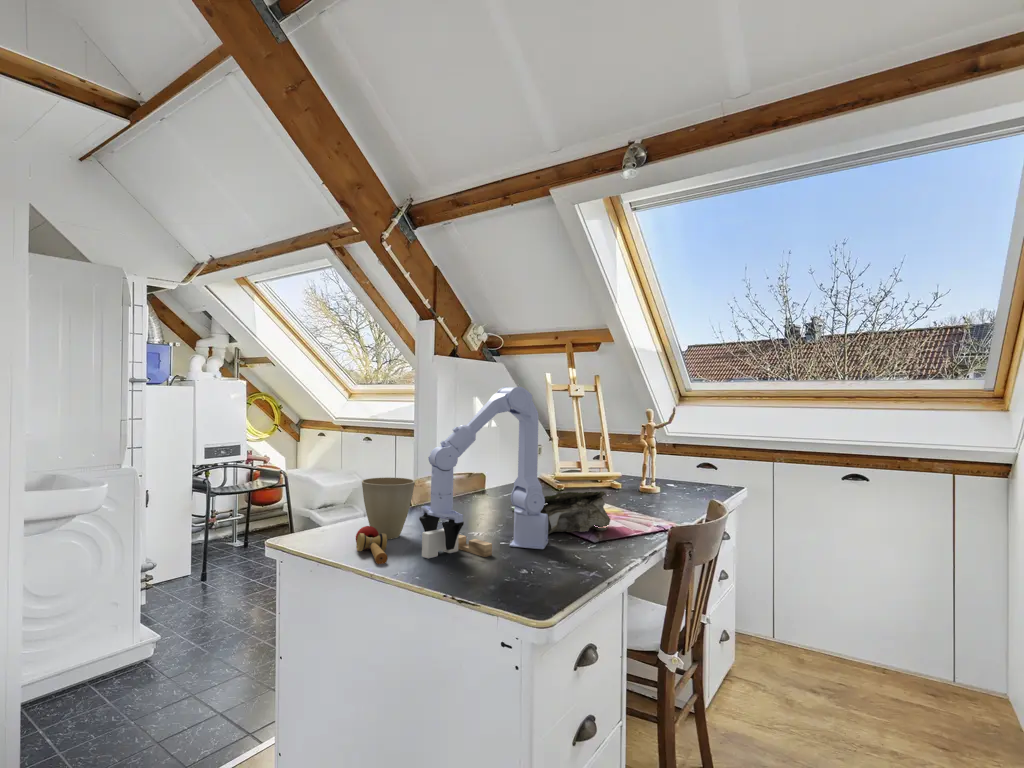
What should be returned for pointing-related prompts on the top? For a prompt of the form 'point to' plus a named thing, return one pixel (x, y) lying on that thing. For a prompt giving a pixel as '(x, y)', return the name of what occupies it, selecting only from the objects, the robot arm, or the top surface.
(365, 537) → the kendama
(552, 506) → the hollow geode rock
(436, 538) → the white flat block
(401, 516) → the plant pot
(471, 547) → the wooden bar
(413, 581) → the top surface
